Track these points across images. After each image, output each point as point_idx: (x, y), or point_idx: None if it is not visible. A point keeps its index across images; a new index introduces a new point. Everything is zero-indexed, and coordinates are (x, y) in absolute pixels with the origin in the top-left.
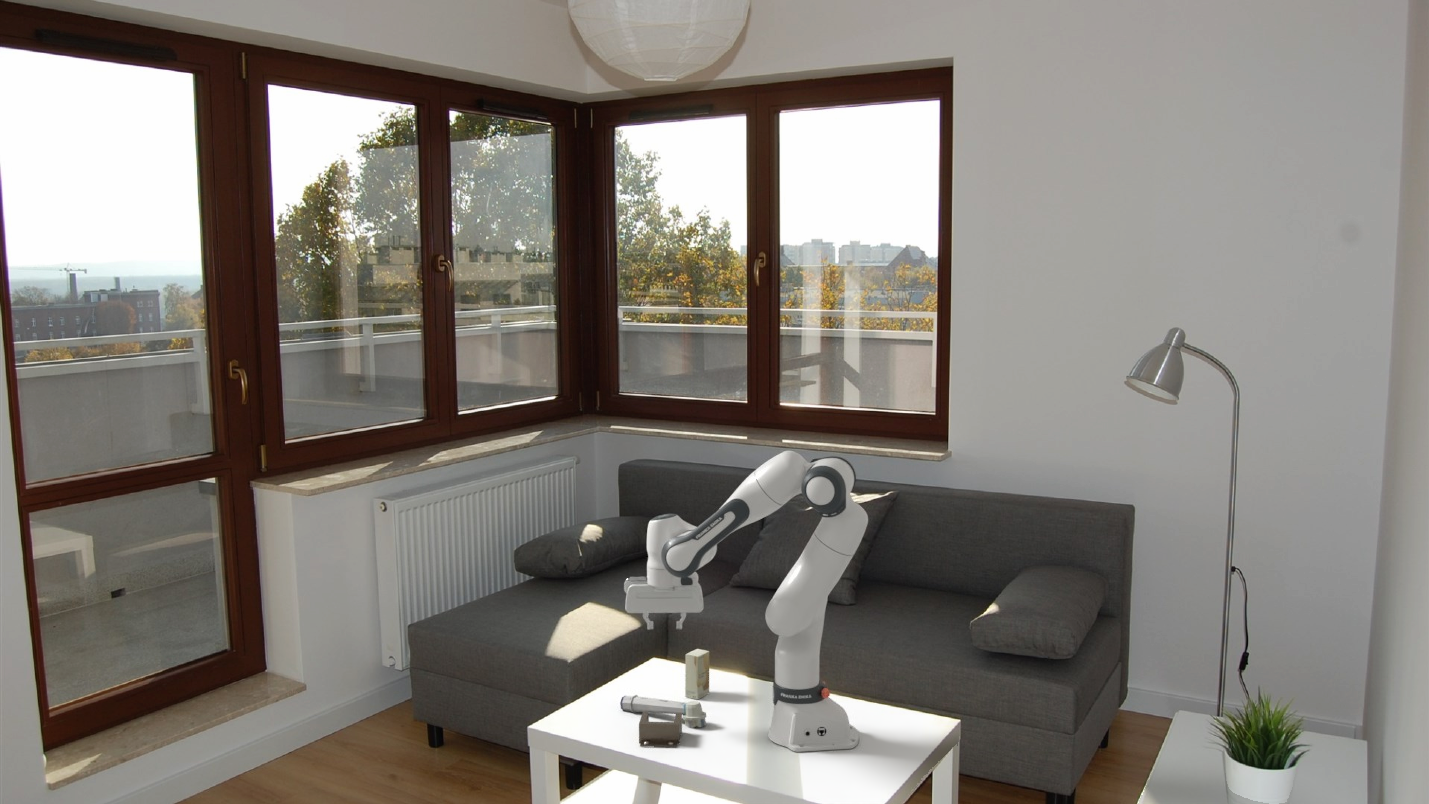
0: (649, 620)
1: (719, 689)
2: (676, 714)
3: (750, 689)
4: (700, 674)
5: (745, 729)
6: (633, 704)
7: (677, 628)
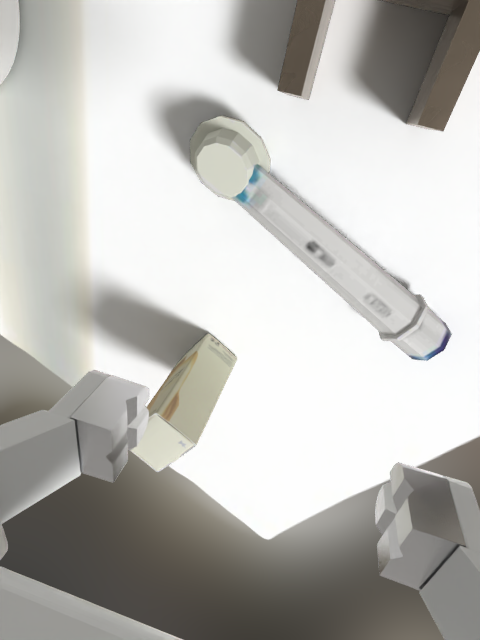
0: (433, 601)
1: (154, 375)
2: (302, 75)
3: (88, 355)
4: (175, 377)
5: (90, 86)
6: (415, 301)
7: (133, 385)
